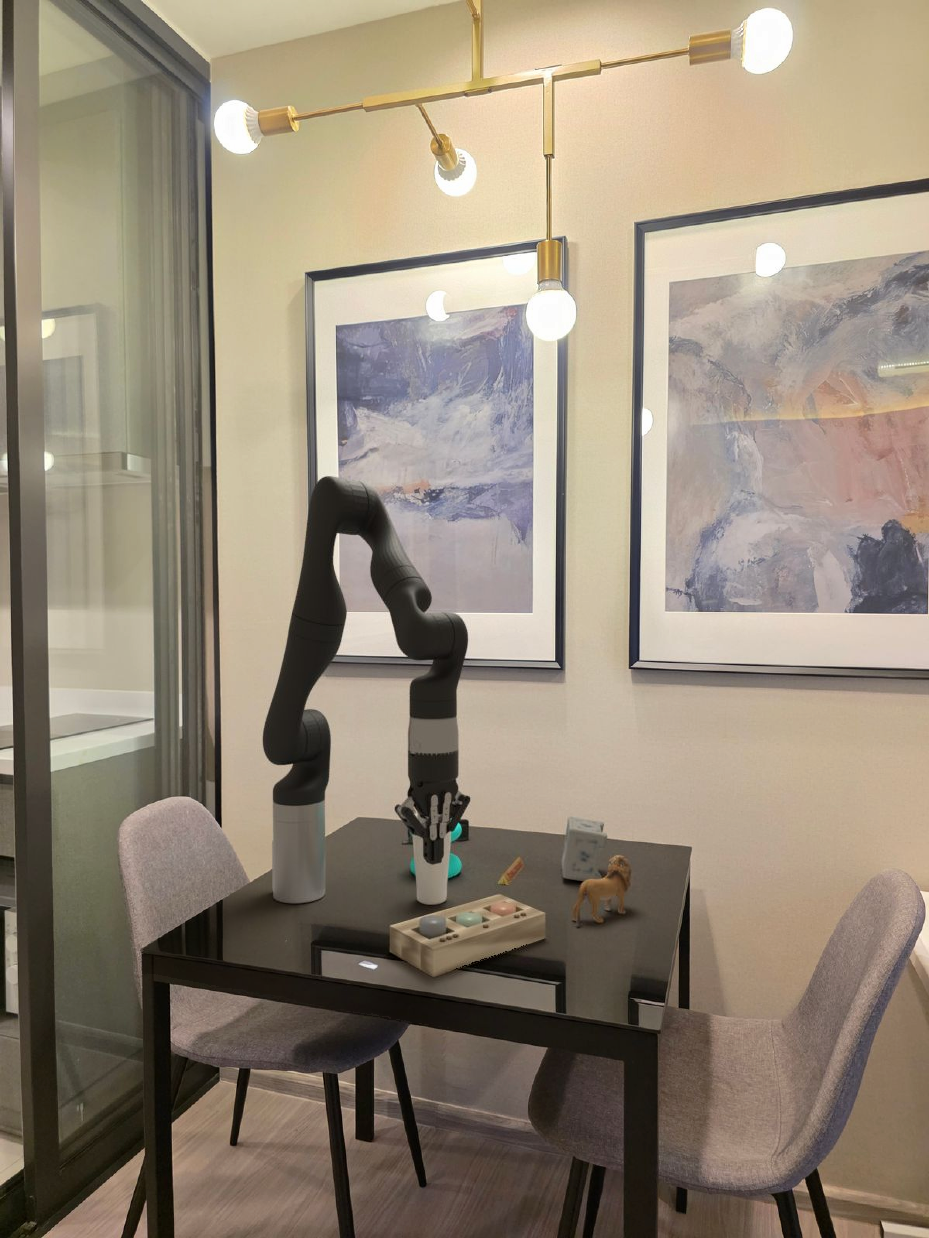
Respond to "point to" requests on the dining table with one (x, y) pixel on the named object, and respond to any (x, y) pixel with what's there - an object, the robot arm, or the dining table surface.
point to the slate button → (432, 926)
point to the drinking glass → (431, 873)
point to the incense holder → (582, 849)
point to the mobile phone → (462, 837)
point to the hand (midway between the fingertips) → (433, 862)
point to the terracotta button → (503, 908)
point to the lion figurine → (605, 889)
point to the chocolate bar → (511, 872)
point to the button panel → (467, 936)
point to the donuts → (453, 859)
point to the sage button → (468, 919)
